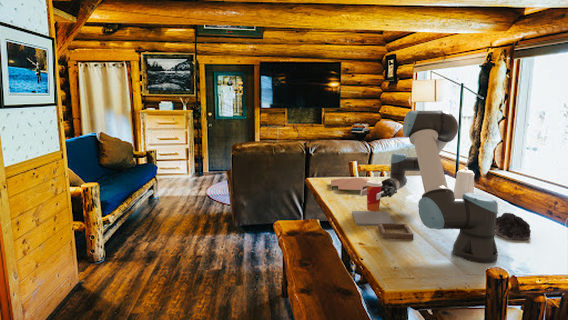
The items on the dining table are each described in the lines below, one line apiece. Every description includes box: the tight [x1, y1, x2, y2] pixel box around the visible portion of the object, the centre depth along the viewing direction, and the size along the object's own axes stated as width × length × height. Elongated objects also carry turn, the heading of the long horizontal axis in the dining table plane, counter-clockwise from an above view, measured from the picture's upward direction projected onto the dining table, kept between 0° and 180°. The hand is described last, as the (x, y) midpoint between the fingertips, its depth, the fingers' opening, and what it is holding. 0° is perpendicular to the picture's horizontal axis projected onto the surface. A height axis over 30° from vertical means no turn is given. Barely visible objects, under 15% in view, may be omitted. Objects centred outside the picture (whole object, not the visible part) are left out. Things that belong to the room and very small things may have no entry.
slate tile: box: [352, 210, 395, 227], centre depth 174 cm, size 18×18×1 cm
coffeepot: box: [453, 166, 476, 198], centre depth 205 cm, size 11×25×19 cm, turn 168°
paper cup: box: [366, 179, 382, 211], centre depth 172 cm, size 8×8×14 cm
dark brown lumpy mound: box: [495, 212, 532, 240], centre depth 153 cm, size 13×14×10 cm
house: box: [330, 177, 370, 194], centre depth 227 cm, size 23×33×8 cm
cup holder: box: [377, 222, 414, 241], centre depth 155 cm, size 12×12×2 cm
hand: (369, 195), depth 168 cm, fingers closed on paper cup, 8 cm apart
